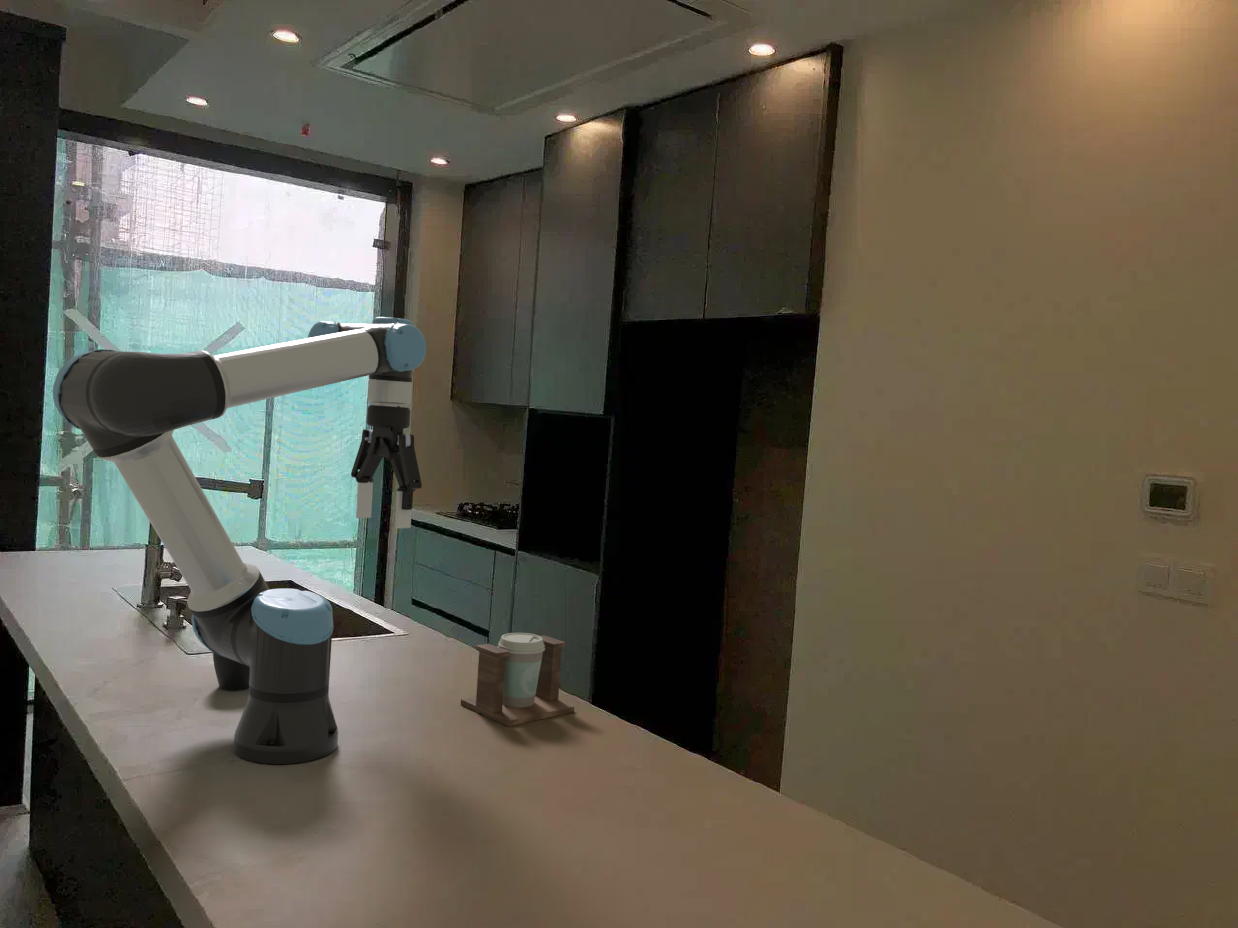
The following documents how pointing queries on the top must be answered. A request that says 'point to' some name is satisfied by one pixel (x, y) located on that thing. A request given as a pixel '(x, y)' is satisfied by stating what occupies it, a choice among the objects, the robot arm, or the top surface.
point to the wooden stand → (493, 686)
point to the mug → (231, 674)
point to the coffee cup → (521, 668)
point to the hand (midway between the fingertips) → (382, 522)
